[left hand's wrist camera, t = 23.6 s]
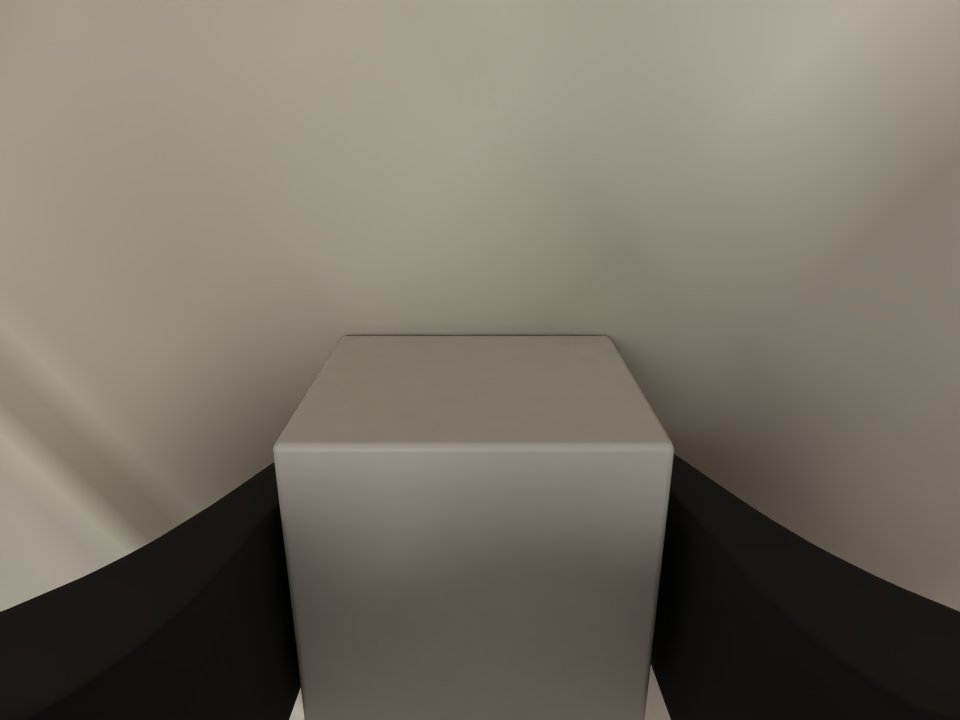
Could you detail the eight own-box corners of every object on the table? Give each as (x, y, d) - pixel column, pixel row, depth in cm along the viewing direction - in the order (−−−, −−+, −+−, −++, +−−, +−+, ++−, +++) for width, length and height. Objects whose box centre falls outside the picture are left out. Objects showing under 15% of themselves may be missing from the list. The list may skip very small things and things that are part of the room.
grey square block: (340, 333, 12) (269, 445, 8) (610, 334, 12) (676, 445, 8) (358, 576, 13) (308, 767, 9) (593, 576, 13) (641, 767, 9)
